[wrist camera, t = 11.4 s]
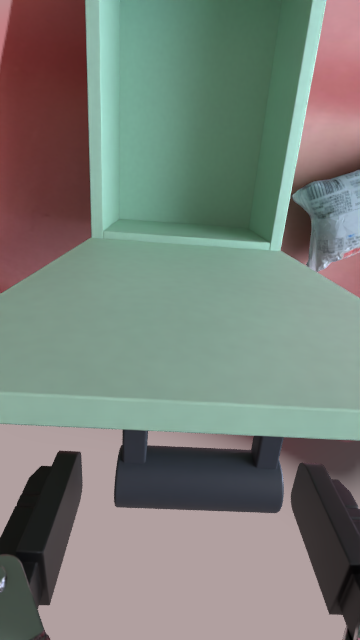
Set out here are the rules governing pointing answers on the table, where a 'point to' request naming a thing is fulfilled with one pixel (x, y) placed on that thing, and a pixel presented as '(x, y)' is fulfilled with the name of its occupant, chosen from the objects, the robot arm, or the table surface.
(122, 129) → the box
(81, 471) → the robot arm
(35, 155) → the table surface
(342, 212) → the packaged food
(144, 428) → the lid
